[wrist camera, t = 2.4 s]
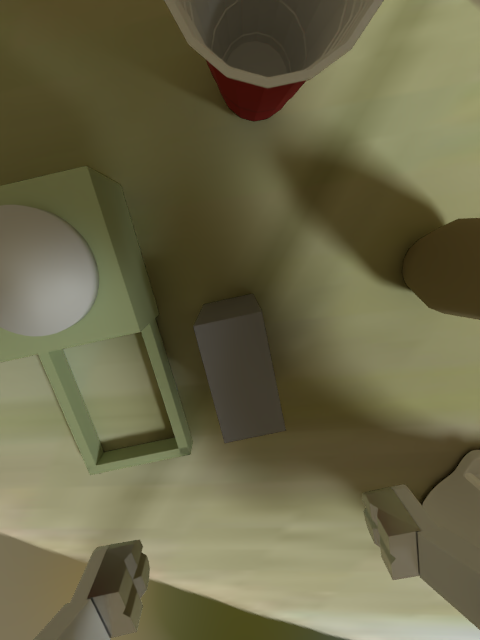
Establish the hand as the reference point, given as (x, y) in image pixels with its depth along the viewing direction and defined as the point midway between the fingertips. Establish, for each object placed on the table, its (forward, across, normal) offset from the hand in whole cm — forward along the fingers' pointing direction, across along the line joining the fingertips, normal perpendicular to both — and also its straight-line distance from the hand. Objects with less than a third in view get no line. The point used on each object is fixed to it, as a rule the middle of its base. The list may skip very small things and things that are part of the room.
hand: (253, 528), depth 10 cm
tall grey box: (+20, 0, 0) cm, 20 cm away
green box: (+20, +13, -5) cm, 24 cm away
